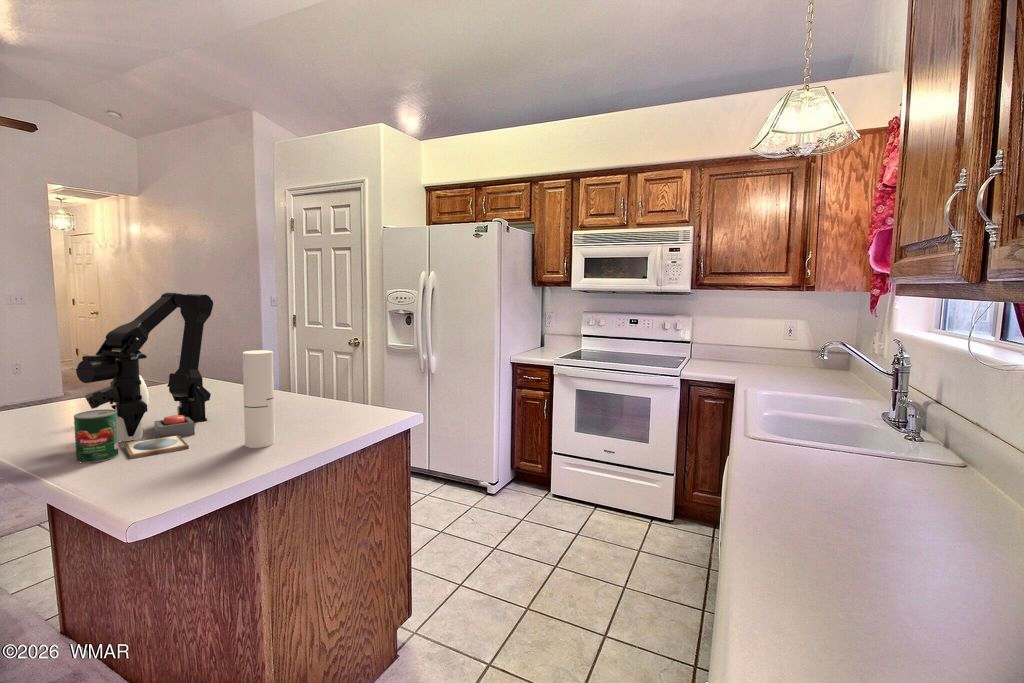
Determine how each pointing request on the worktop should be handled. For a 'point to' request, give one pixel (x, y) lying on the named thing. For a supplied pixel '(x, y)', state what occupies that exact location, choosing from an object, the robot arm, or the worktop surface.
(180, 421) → the button
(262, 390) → the cylindrical container
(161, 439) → the wooden picture frame
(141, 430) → the white cup
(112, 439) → the canned tomato
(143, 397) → the sauce bottle
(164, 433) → the button housing
